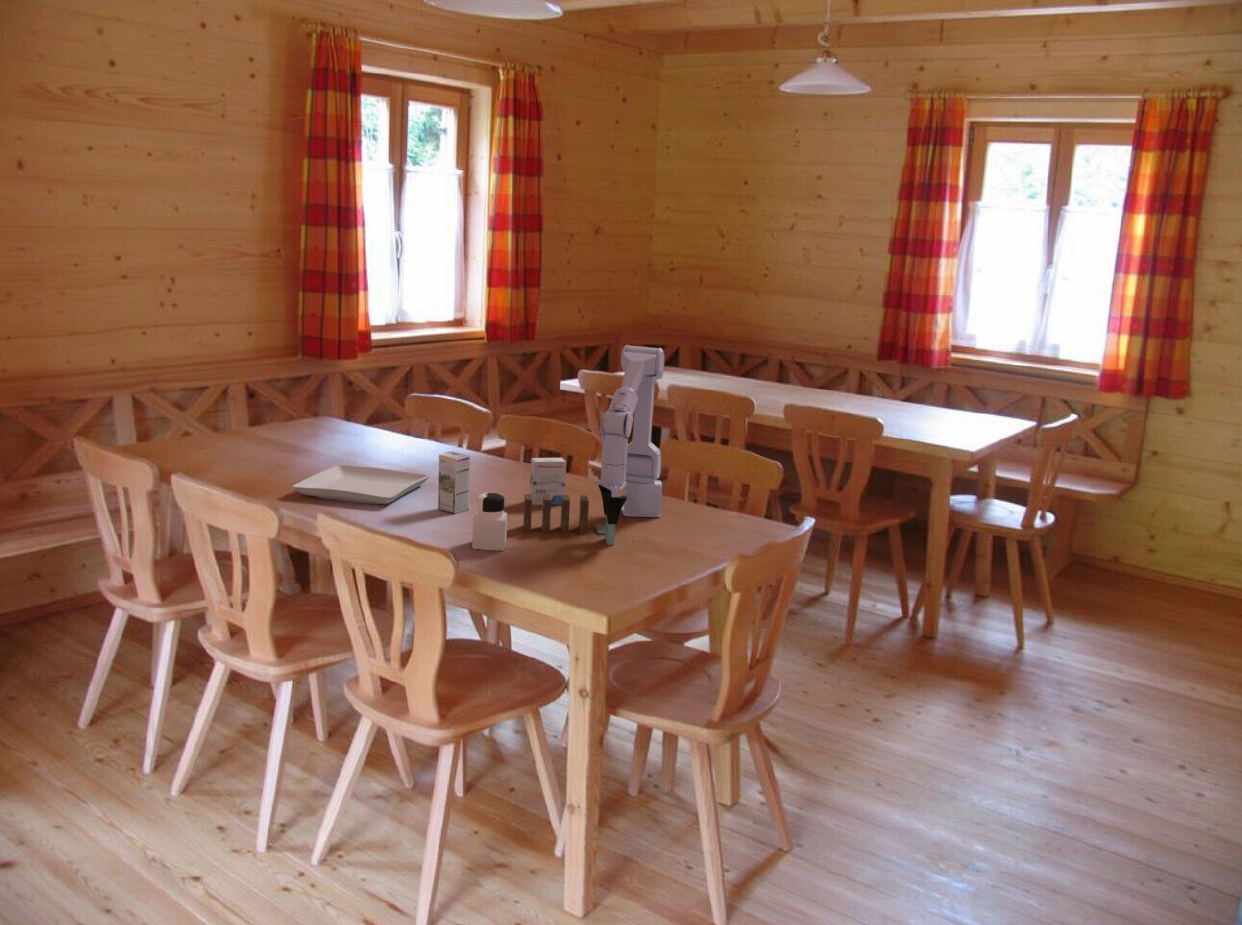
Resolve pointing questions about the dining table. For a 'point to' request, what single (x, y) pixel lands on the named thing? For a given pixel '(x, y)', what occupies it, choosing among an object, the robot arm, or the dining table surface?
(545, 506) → the domino
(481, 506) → the medicine bottle
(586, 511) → the domino
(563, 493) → the ink box
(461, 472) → the syrup box
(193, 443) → the dining table surface
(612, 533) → the teal tile
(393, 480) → the square plate
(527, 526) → the domino
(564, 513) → the domino
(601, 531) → the slot pad
